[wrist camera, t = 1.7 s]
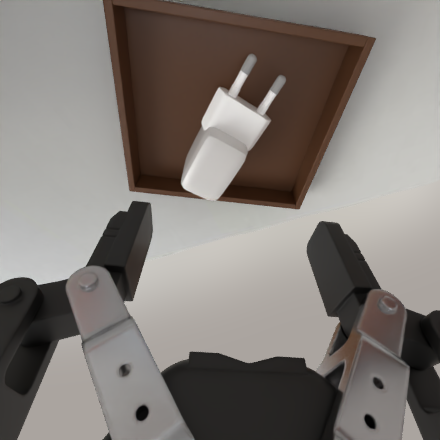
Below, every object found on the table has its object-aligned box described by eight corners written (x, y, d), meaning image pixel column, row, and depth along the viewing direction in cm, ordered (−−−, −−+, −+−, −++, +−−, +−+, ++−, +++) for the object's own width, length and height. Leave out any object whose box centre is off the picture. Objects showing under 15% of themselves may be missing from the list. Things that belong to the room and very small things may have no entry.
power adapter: (237, 38, 19) (242, 49, 14) (286, 74, 20) (305, 94, 16) (179, 155, 25) (171, 187, 21) (220, 175, 27) (220, 209, 22)
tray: (136, 176, 27) (129, 191, 25) (115, -9, 17) (101, -10, 15) (293, 194, 29) (299, 209, 27) (359, 34, 19) (376, 38, 17)
